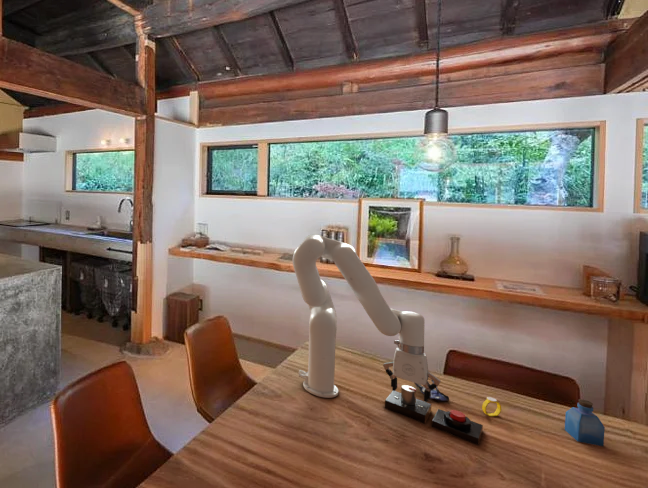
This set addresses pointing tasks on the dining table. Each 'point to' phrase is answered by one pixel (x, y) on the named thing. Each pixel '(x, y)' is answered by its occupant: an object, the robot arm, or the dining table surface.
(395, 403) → the control panel
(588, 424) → the perfume bottle
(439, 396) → the snack package
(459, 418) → the button
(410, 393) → the heat knob
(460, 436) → the button block
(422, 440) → the dining table surface
